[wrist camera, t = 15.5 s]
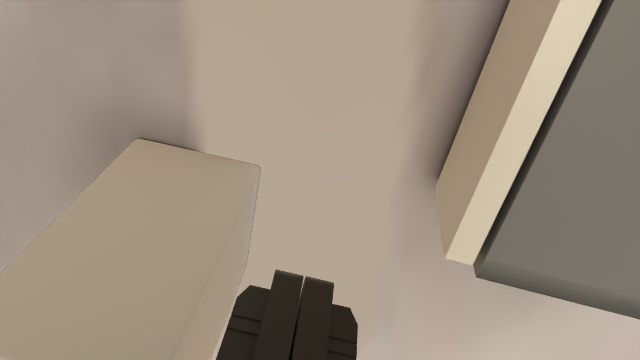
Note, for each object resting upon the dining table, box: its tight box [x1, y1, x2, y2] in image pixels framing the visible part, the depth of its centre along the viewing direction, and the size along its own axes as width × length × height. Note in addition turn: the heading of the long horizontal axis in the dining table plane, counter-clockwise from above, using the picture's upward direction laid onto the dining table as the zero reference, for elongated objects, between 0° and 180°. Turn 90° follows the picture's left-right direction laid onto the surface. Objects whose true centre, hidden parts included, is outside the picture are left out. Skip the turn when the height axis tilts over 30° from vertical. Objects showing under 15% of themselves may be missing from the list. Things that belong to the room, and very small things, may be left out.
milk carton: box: [0, 139, 261, 360], centre depth 22 cm, size 7×7×19 cm
